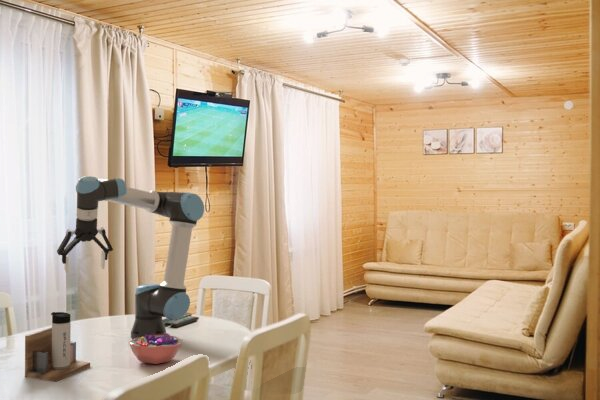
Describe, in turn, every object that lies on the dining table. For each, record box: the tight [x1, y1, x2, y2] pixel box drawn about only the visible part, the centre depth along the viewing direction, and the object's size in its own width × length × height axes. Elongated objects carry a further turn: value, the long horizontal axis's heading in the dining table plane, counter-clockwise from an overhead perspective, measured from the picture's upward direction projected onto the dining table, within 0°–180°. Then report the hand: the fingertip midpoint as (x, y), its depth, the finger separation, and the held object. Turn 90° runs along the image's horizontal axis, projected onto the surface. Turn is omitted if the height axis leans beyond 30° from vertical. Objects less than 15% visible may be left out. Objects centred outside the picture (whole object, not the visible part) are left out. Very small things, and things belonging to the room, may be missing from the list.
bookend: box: [28, 350, 48, 375], centre depth 216 cm, size 6×3×7 cm, turn 71°
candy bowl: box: [128, 332, 183, 365], centre depth 236 cm, size 17×20×11 cm
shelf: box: [24, 326, 91, 383], centre depth 222 cm, size 14×18×14 cm
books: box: [70, 340, 77, 363], centre depth 230 cm, size 6×4×7 cm, turn 71°
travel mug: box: [50, 311, 72, 370], centre depth 222 cm, size 6×7×20 cm
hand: (84, 269), depth 238 cm, fingers open, 13 cm apart
